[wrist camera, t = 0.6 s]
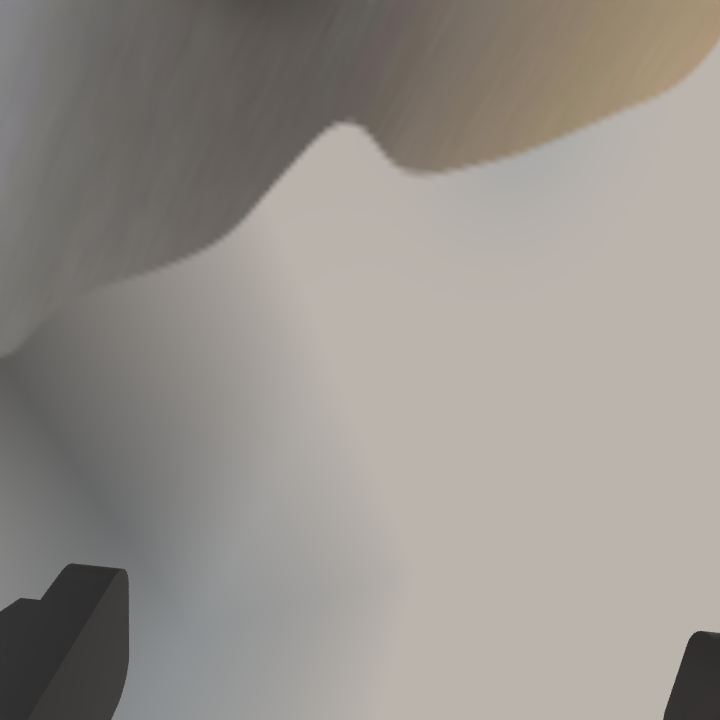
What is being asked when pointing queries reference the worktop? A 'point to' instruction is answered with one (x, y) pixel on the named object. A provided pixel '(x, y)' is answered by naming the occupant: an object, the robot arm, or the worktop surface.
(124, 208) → the worktop surface
